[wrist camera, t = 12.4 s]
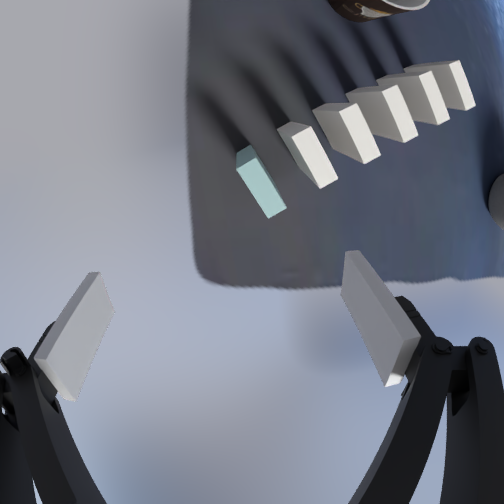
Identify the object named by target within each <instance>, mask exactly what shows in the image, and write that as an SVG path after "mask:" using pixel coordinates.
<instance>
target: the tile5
mask: <svg viewBox="0 0 504 504" xmlns="http://www.w3.org/2000/svg"><path fill="white" fill-rule="evenodd" d="M404 71H405V73H410V72H420V71H432V73H433V76H434V78H435V80H436V83H437V85H438V88H439V90H440V93H441V95H442V98H443V101H444V103H445V106H446V108H452V109H459V110H465V111H466V110H468V109H470V108H472V107H474V106H476V105H475V102H474V99H473V96H472V93H471V90H470V87H469V84H468V81H467V79H466V76H465V73H464V71H463V68H462V66H461V63H460V61H459V60H457V61H443V62H432V63H423V64H415V65H411V66H409V67H406V68H404Z"/></svg>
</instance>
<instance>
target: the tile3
mask: <svg viewBox="0 0 504 504" xmlns="http://www.w3.org/2000/svg"><path fill="white" fill-rule="evenodd" d="M346 96H347V98H348V100H349V102H350V103H357V105H358V106H359V108H360V110H361V113H362V115H363V117H364V119H365V121H366V123H367V125H368V127H369V129H370V131H371V134H374V135H378V136H382V137H386V138H389V139H393V140H396V141H400V142H403V143H405V142H407V141H408V140H410V139H412V138H414V137H416V136H418V133H417V130H416V128H415V125H414V122H413V120H412V117H411V115H410V112H409V110H408V108H407V105H406V103H405V101H404V98H403V96H402V94H401V92H400V89H399V87H398V85H384V86H372V87H362V88H357V89H354V90H352V91H350V92H348V93H346Z"/></svg>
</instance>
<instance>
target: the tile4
mask: <svg viewBox="0 0 504 504" xmlns="http://www.w3.org/2000/svg"><path fill="white" fill-rule="evenodd" d="M376 81H377V83H378V85H379V86H384V85H398V87H399V89H400V92H401V94H402V96H403V98H404V101H405V103H406V105H407V108H408V110H409V112H410V115H411V117H412V120H414V121H420V122H425V123H430V124H435V125H439V124H441V123H443V122H445V121H447V120H449V119H450V118H449V115H448V112H447V109H446V106H445V103H444V101H443V98H442V95H441V93H440V90H439V88H438V85H437V83H436V80H435V78H434V76H433V73H432V71H420V72H410V73H400V74H392V75H386V76H384V77H382V78H379V79H377V80H376Z"/></svg>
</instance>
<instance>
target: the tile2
mask: <svg viewBox="0 0 504 504" xmlns="http://www.w3.org/2000/svg"><path fill="white" fill-rule="evenodd" d="M312 112H313V113H314V115H315V117H316V119H317V121H318V122H319V124H320V126H321V128H322V130H323V132H324V133H325V135H326V137H327V139H328V141H329V143H330V145H331V147H332V149H334V150H336V151H338V152H341V153H343V154H345V155H347V156H349V157H351V158H353V159H355V160H357V161H359V162H361V163H363V164H366V163H367V162H369V161H371V160H373V159H375V158H377V157H379V156H380V155H381V154H380V152H379V150H378V147H377V145H376V143H375V140H374V138H373V136H372V134H371V131H370V129H369V127H368V125H367V123H366V121H365V119H364V117H363V115H362V113H361V110H360V108H359V106H358V105H357V103H325V104H323V105H321V106H319V107H317V108H315V109H313V110H312Z"/></svg>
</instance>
